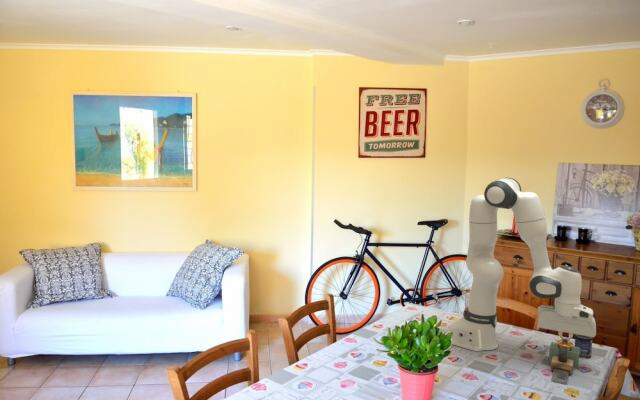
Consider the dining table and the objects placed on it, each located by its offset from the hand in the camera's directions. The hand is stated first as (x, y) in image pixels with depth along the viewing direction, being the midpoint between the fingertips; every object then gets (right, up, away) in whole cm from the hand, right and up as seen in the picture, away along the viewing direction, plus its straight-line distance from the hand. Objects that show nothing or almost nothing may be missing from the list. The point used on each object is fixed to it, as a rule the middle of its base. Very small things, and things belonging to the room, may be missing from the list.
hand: (565, 342), depth 187 cm
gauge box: (0, -8, +1) cm, 8 cm away
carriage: (-4, -9, -6) cm, 11 cm away
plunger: (0, -6, +1) cm, 6 cm away
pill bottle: (+11, -8, +8) cm, 15 cm away
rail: (-6, -9, -9) cm, 14 cm away
